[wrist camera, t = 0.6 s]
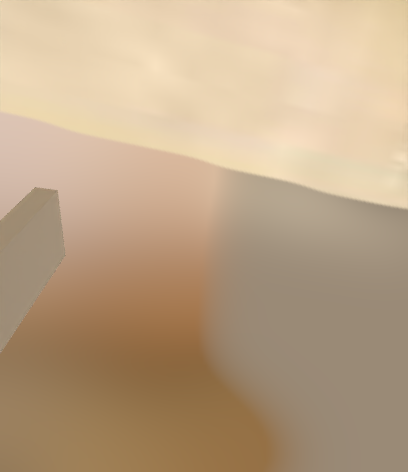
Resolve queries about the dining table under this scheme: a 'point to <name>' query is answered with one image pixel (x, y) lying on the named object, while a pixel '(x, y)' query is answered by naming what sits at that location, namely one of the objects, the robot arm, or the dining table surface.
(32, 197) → the robot arm
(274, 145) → the dining table surface
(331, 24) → the dining table surface
